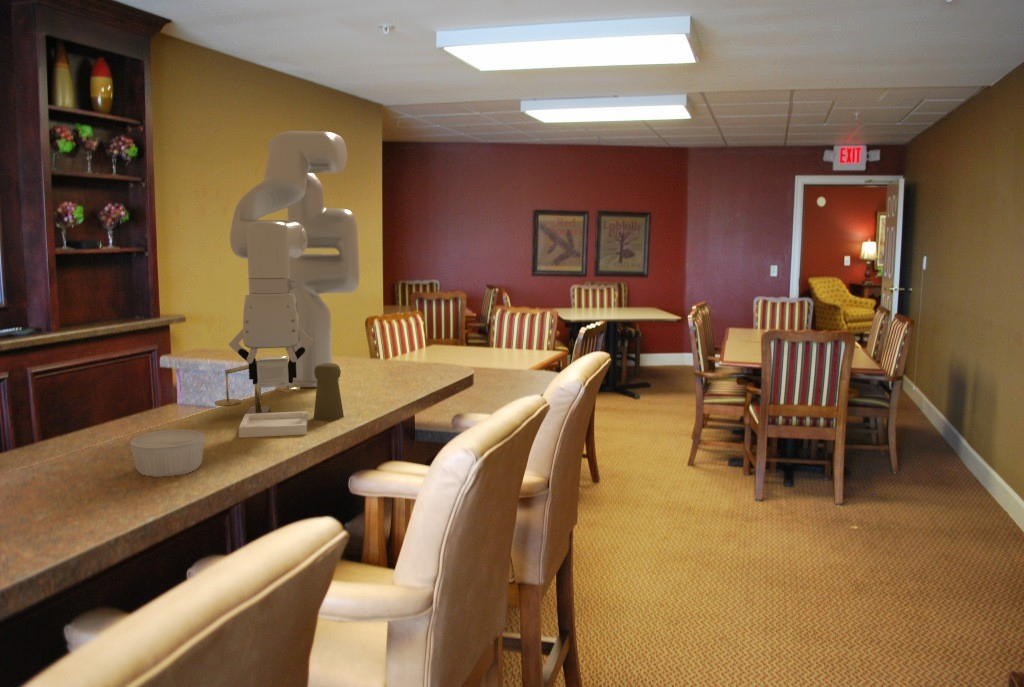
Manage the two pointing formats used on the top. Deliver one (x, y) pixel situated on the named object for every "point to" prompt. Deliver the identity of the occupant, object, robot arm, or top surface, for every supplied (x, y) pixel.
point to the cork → (328, 392)
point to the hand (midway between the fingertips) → (273, 381)
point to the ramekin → (168, 452)
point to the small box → (272, 372)
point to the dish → (274, 424)
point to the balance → (257, 394)
